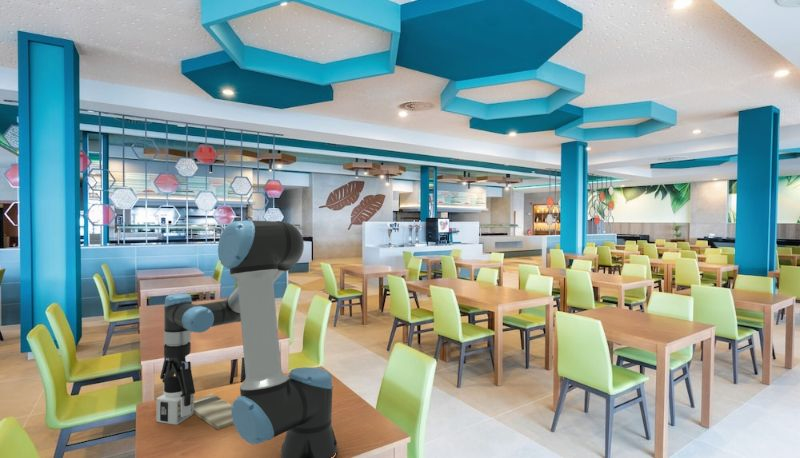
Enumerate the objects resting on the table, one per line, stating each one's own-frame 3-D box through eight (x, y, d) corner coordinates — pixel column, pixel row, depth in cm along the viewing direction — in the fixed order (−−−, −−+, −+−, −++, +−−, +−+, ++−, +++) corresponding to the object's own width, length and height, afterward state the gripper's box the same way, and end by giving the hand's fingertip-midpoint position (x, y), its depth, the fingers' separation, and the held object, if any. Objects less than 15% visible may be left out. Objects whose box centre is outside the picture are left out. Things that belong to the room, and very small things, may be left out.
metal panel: (247, 418, 134) (247, 414, 133) (217, 429, 126) (217, 426, 126) (212, 396, 149) (212, 393, 149) (183, 405, 141) (183, 402, 141)
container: (177, 425, 128) (177, 383, 128) (155, 422, 130) (156, 381, 129) (194, 414, 136) (194, 374, 135) (173, 411, 137) (174, 372, 137)
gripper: (207, 348, 127) (206, 416, 128) (173, 332, 143) (172, 393, 144) (182, 354, 122) (181, 425, 122) (149, 337, 137) (148, 400, 138)
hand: (176, 408), depth 133 cm, fingers open, 13 cm apart
